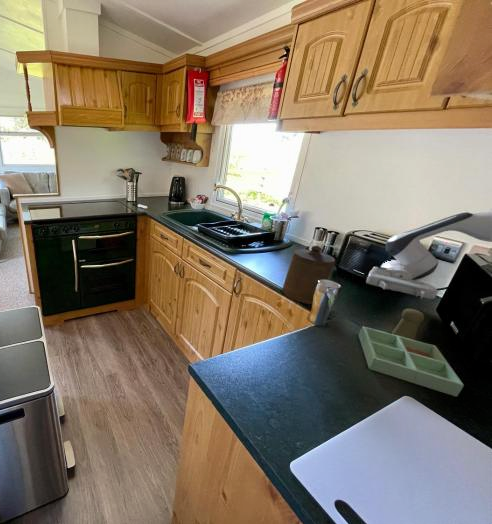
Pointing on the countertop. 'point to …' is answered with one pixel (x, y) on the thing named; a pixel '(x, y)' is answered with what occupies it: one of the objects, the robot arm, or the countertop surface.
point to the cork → (409, 324)
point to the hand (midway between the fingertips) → (403, 291)
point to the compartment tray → (409, 361)
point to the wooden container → (306, 273)
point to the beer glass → (323, 301)
